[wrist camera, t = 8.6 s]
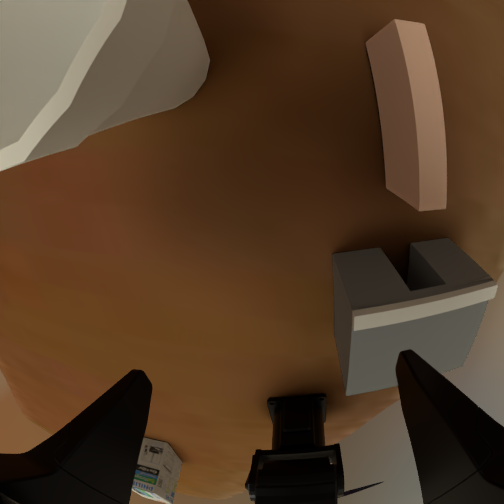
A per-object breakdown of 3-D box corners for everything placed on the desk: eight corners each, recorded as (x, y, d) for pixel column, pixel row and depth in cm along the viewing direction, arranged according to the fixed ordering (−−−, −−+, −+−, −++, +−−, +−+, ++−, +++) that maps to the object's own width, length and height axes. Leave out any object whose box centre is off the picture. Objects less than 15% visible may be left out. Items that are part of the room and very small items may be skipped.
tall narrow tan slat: (408, 186, 16) (446, 208, 12) (385, 188, 17) (419, 211, 12) (390, 44, 12) (424, 24, 8) (365, 42, 12) (394, 19, 8)
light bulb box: (134, 433, 38) (117, 481, 28) (168, 441, 37) (153, 493, 27) (153, 455, 42) (140, 497, 33) (184, 462, 42) (173, 505, 32)
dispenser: (433, 316, 21) (465, 370, 15) (334, 335, 23) (346, 401, 16) (448, 237, 18) (498, 284, 11) (332, 253, 19) (354, 316, 13)
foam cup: (217, 141, 17) (96, 189, 5) (98, 130, 17) (-55, 171, 5) (246, 10, 12) (196, -124, 1) (121, 14, 12) (-9, -35, 1)
